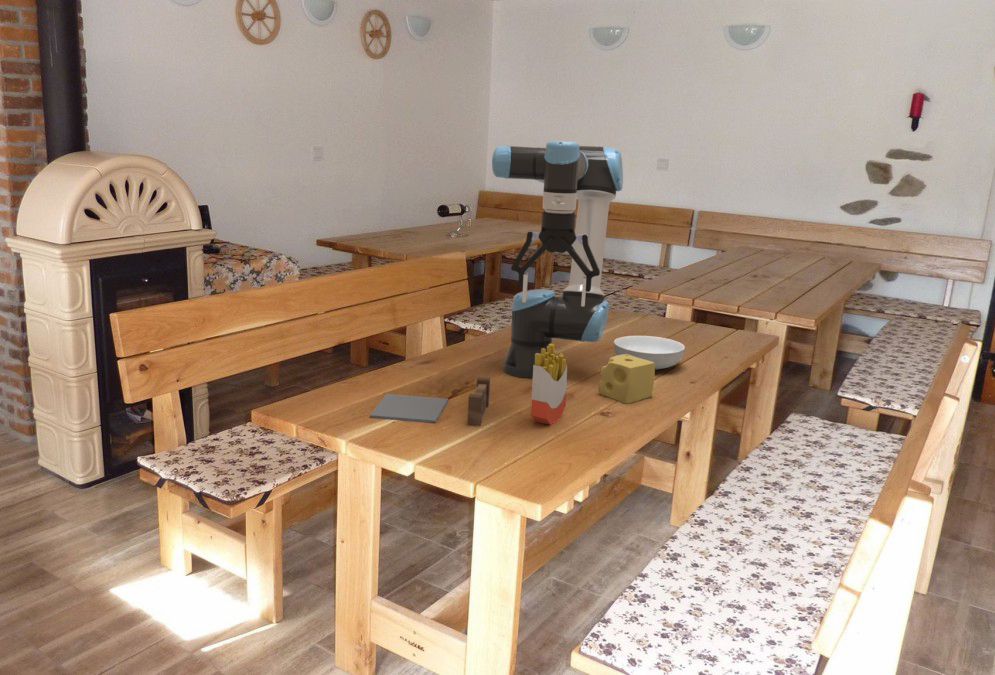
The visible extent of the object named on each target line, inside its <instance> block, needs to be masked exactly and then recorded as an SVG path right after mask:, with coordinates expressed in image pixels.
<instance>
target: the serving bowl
mask: <svg viewBox="0 0 995 675" xmlns="http://www.w3.org/2000/svg"><path fill="white" fill-rule="evenodd" d="M613 349H614V352H615V356H617V355H622V354H629V355H632V356H634V357H638V358H641V359H645V360H648V361H651V362H654V367H655V371H656V370H662V369H667V368H670V367H673V366H675V365H676V364H678V363H679V362H680V361H681V359H682V358H683V356H684V354H685V350H686V347H685V345H684V344H683V343H682V342H679V341H676V340H673V339H671V338H665V337H660V336H652V335H627V336H626V335H625V336H620V337H617V338H615V339H614V341H613Z"/></svg>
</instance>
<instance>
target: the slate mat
mask: <svg viewBox="0 0 995 675" xmlns="http://www.w3.org/2000/svg"><path fill="white" fill-rule="evenodd" d="M448 402H449V398H446V397H444V398H443V397H432V396H420V395H418V396H417V395H408V394H407V395H406V394H397V393H396V394H393V393H386V394H385V395H384V397H383V398H382V399H381V401H379V403H378V404H377V405H376V407H374V409H373V410H372V412H370V414H369V418H370V419H371V418H373V419H382V418H383V419H384V420H396V421H409V422H421V423H430V422H435V423H434V424H436V423H437V422H436V421H439V418H440V417H439V416H441V415H442V413H443V411H444V409H445V407H446V405H447V404H448ZM440 414H441V415H440Z"/></svg>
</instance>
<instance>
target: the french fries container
mask: <svg viewBox="0 0 995 675" xmlns="http://www.w3.org/2000/svg"><path fill="white" fill-rule="evenodd" d="M555 348H556V344H554V343H552V344H549V345H548V346H547V352H546V349H544V348H542V349H541V354H539V353H536V354H535V364H534V365H533V378H532V383H531V384H532V386H531V405H530V416H531V418H532V419H533V421H534V422H535V421H536V422H535V423H539V422H541V423H540V424H544V423H546V424H545V425H548V424H550V426H551V424H552V423H553V422H555V421H556V422H557V421H559V420H560V419H561V418H562V416H563V413H564V410H565V407H566V403H567V388H568V387H567V386H568V385H567V384H568V379H567V378H568V364H567V359H565V358H564V357H565V354H563V353H562V352H559V354H557V351H556V349H555ZM558 419H559V420H558ZM556 422H555V423H556ZM553 424H554V423H553ZM553 424H552V425H553Z"/></svg>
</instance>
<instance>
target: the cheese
mask: <svg viewBox="0 0 995 675" xmlns="http://www.w3.org/2000/svg"><path fill="white" fill-rule="evenodd" d="M655 373H656V370H655V367H654V362H651V361H648V360H645V359H641V358H638V357H634V356H632V355H629V354H622V355H614V356H611V357H610V358H609V359H608V362H607V364H606V365H604V366H602V367H601V370H600V377H601V380H600V381H599V382H598V388H597V389H598V390H597V391H598V394H599V395H600V394H601V396H604V397H607V398H609V399H613V400H615V401H617V402H620V403H623V404H626V405H628V404H632V403H635V402H639V401H641V400H644V399H645V400H646V399H649V398H651V397H652V394H653V390H654V383H655Z"/></svg>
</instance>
